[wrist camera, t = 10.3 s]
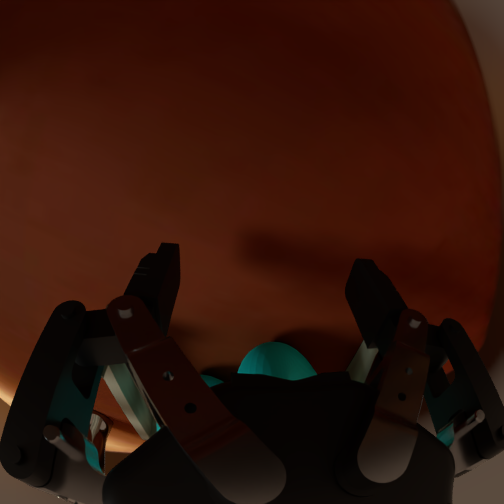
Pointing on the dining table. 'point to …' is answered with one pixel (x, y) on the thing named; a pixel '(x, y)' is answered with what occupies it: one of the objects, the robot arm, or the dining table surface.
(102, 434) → the beer glass
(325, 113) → the dining table surface
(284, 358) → the teal diabolo
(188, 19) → the dining table surface
